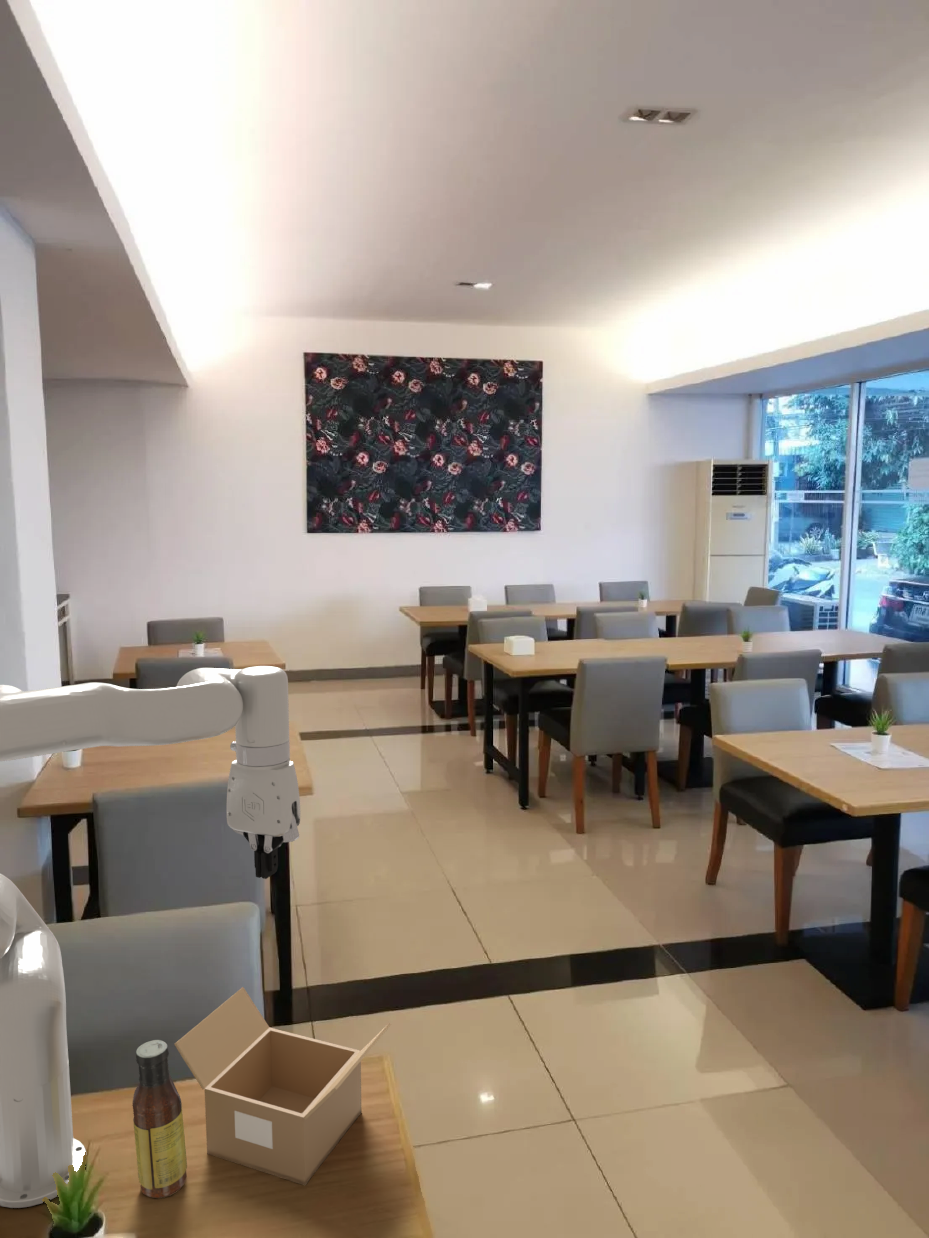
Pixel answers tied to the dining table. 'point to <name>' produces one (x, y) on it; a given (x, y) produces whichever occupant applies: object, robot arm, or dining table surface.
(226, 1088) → the carton
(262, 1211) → the dining table surface
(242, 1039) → the flap
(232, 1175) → the dining table surface
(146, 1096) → the sauce bottle
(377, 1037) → the flap
